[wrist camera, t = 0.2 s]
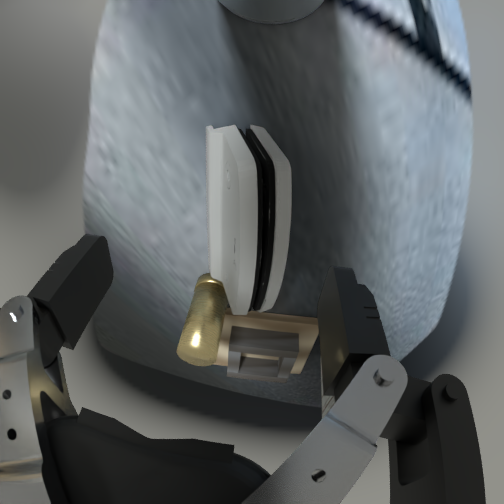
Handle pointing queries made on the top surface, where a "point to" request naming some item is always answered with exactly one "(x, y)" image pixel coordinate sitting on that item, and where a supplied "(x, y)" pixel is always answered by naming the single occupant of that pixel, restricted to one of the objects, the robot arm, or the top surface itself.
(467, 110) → the top surface
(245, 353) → the socket board
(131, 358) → the top surface
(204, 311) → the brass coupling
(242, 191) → the white black curved block
